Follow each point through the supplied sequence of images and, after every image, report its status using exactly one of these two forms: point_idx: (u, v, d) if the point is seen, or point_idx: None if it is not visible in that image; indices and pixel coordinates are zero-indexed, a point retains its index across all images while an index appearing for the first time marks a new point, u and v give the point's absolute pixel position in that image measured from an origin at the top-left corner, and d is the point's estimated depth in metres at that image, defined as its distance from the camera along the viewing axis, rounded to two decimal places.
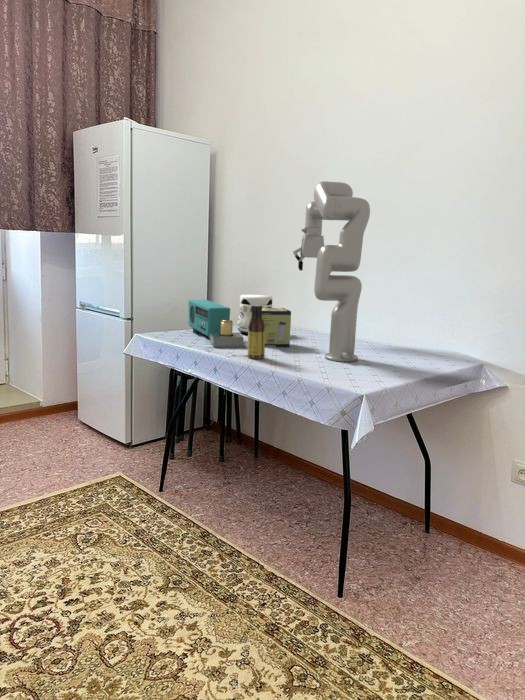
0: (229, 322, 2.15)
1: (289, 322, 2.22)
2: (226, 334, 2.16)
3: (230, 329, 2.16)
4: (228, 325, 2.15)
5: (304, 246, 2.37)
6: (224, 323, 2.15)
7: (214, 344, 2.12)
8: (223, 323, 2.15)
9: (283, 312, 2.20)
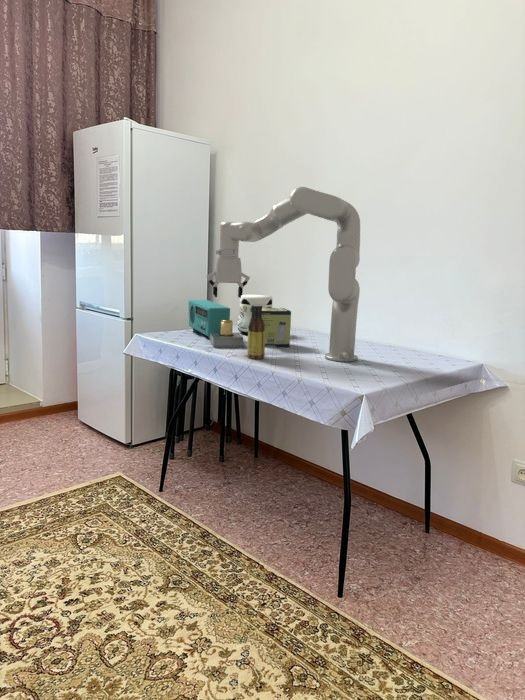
0: (229, 322, 2.15)
1: (289, 322, 2.22)
2: (226, 334, 2.16)
3: (230, 329, 2.16)
4: (228, 325, 2.15)
5: (218, 270, 2.10)
6: (224, 323, 2.15)
7: (214, 344, 2.12)
8: (223, 323, 2.15)
9: (283, 312, 2.20)
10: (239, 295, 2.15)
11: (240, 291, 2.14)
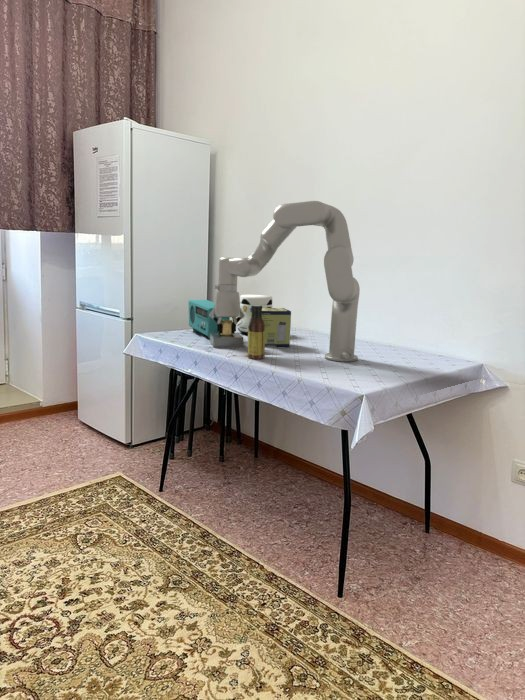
0: (229, 322, 2.15)
1: (289, 322, 2.22)
2: (226, 334, 2.16)
3: (230, 329, 2.16)
4: (228, 325, 2.15)
5: (217, 305, 2.12)
6: (224, 323, 2.15)
7: (214, 344, 2.12)
8: (223, 323, 2.15)
9: (283, 312, 2.20)
10: (233, 331, 2.17)
11: (233, 327, 2.16)
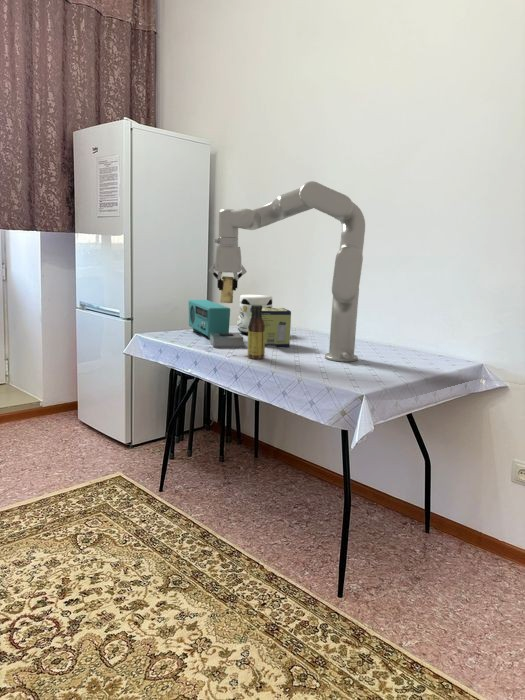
0: (230, 278, 2.06)
1: (289, 322, 2.22)
2: (227, 291, 2.06)
3: (231, 285, 2.06)
4: (229, 281, 2.06)
5: (217, 259, 2.03)
6: (225, 279, 2.05)
7: (214, 344, 2.12)
8: (224, 279, 2.06)
9: (283, 312, 2.20)
10: (234, 288, 2.07)
11: (235, 284, 2.07)
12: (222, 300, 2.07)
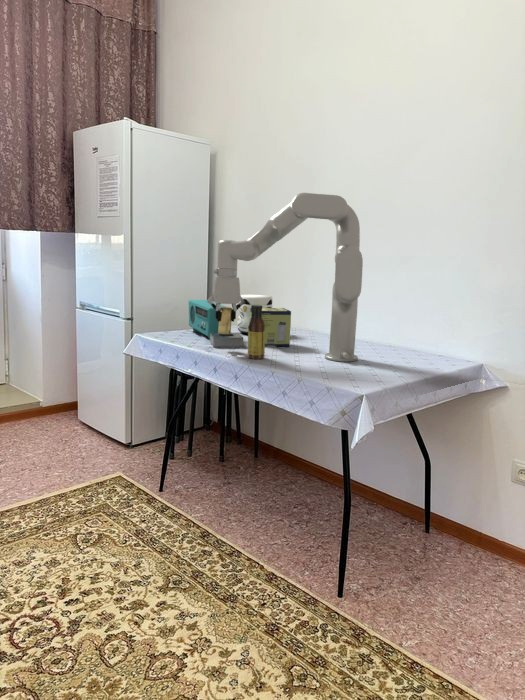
0: (228, 309, 2.03)
1: (289, 322, 2.22)
2: (225, 322, 2.03)
3: (229, 316, 2.04)
4: (227, 312, 2.03)
5: (215, 290, 2.00)
6: (223, 310, 2.03)
7: (214, 344, 2.12)
8: (222, 310, 2.03)
9: (283, 312, 2.20)
10: (232, 319, 2.05)
11: (233, 315, 2.04)
12: (220, 331, 2.05)
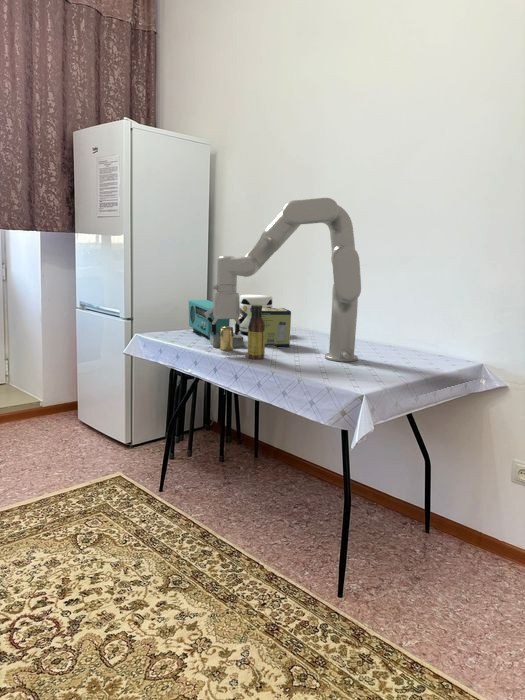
0: (229, 329, 2.04)
1: (289, 322, 2.22)
2: (227, 341, 2.05)
3: (230, 336, 2.05)
4: (228, 332, 2.04)
5: (215, 306, 2.01)
6: (224, 330, 2.04)
7: (214, 344, 2.12)
8: (223, 330, 2.04)
9: (283, 312, 2.20)
10: (236, 332, 2.06)
11: (237, 328, 2.06)
12: None
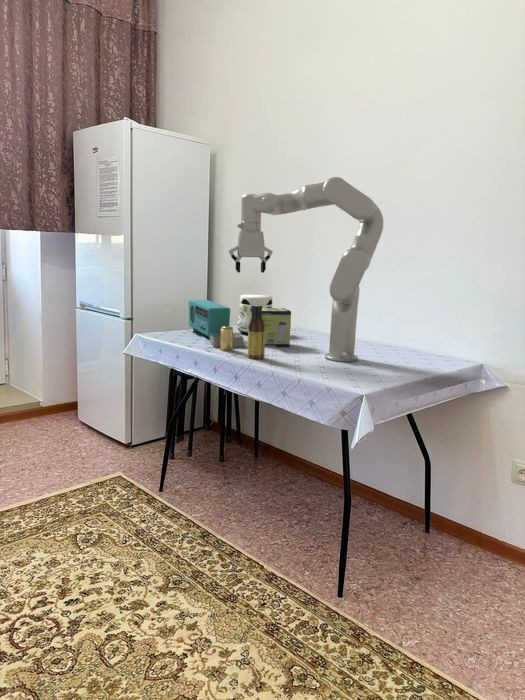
0: (229, 329, 2.04)
1: (289, 322, 2.22)
2: (226, 341, 2.05)
3: (230, 336, 2.05)
4: (228, 332, 2.04)
5: (241, 244, 2.04)
6: (224, 330, 2.04)
7: (214, 344, 2.12)
8: (223, 330, 2.04)
9: (283, 312, 2.20)
10: (262, 270, 2.09)
11: (263, 266, 2.08)
12: None
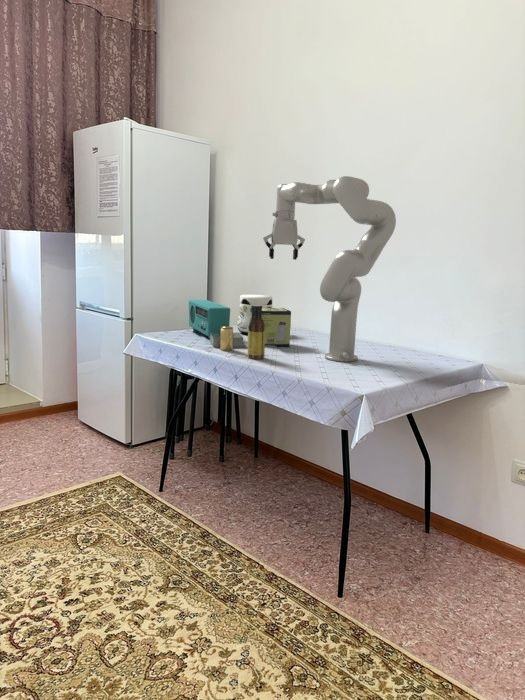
0: (229, 329, 2.04)
1: (289, 322, 2.22)
2: (226, 341, 2.05)
3: (230, 336, 2.05)
4: (228, 332, 2.04)
5: (275, 232, 2.14)
6: (224, 330, 2.04)
7: (214, 344, 2.12)
8: (223, 330, 2.04)
9: (283, 312, 2.20)
10: (295, 257, 2.18)
11: (296, 253, 2.18)
12: None
